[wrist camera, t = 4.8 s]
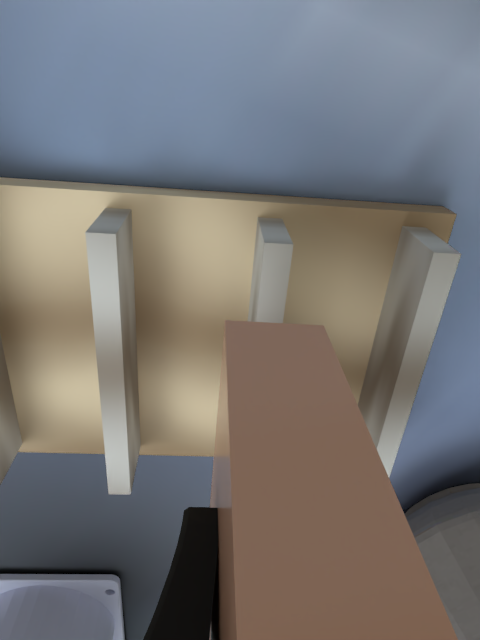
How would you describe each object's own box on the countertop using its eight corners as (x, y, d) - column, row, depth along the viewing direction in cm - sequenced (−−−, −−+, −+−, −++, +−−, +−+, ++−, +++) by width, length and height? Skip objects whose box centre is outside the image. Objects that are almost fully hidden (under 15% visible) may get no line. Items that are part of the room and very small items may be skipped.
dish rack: (374, 444, 21) (401, 507, 18) (-8, 434, 20) (-50, 501, 17) (443, 206, 16) (497, 238, 13) (-71, 172, 15) (-149, 199, 11)
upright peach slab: (281, 540, 15) (327, 871, 9) (207, 538, 15) (201, 877, 8) (323, 325, 11) (459, 642, 5) (224, 320, 11) (237, 643, 5)
